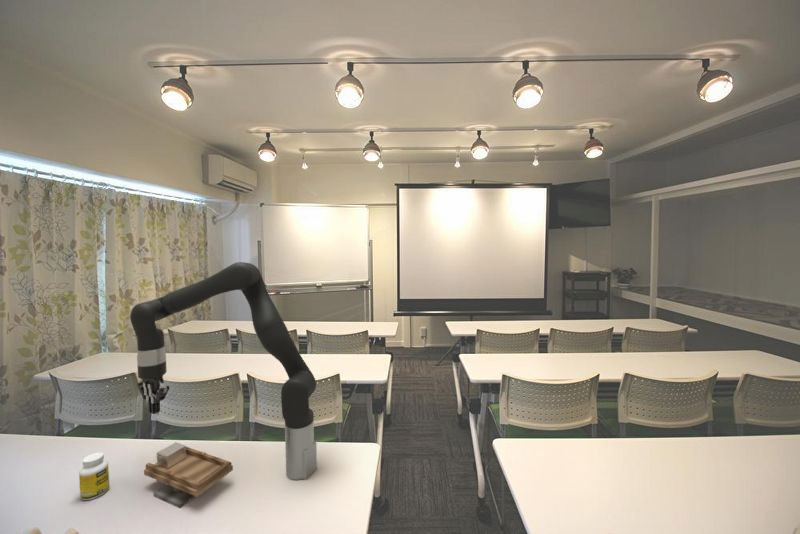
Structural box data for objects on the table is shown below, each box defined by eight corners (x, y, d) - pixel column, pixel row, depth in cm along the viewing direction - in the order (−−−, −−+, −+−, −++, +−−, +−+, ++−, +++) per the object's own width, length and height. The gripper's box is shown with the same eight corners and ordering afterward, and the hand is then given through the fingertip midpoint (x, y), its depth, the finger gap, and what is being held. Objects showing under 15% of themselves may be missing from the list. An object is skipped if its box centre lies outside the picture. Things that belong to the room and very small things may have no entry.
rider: (186, 457, 107) (185, 445, 107) (167, 468, 101) (167, 456, 101) (176, 453, 109) (175, 442, 109) (157, 464, 103) (156, 452, 103)
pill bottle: (91, 503, 96) (89, 465, 95) (74, 499, 97) (72, 462, 96) (115, 487, 102) (113, 451, 101) (98, 484, 103) (96, 449, 103)
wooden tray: (235, 481, 105) (235, 458, 104) (194, 514, 92) (193, 488, 91) (185, 462, 114) (184, 441, 113) (141, 490, 101) (140, 466, 100)
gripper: (177, 360, 107) (179, 411, 108) (151, 355, 112) (153, 403, 113) (152, 368, 100) (155, 422, 101) (126, 362, 105) (129, 413, 106)
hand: (154, 412), depth 107 cm, fingers closed
